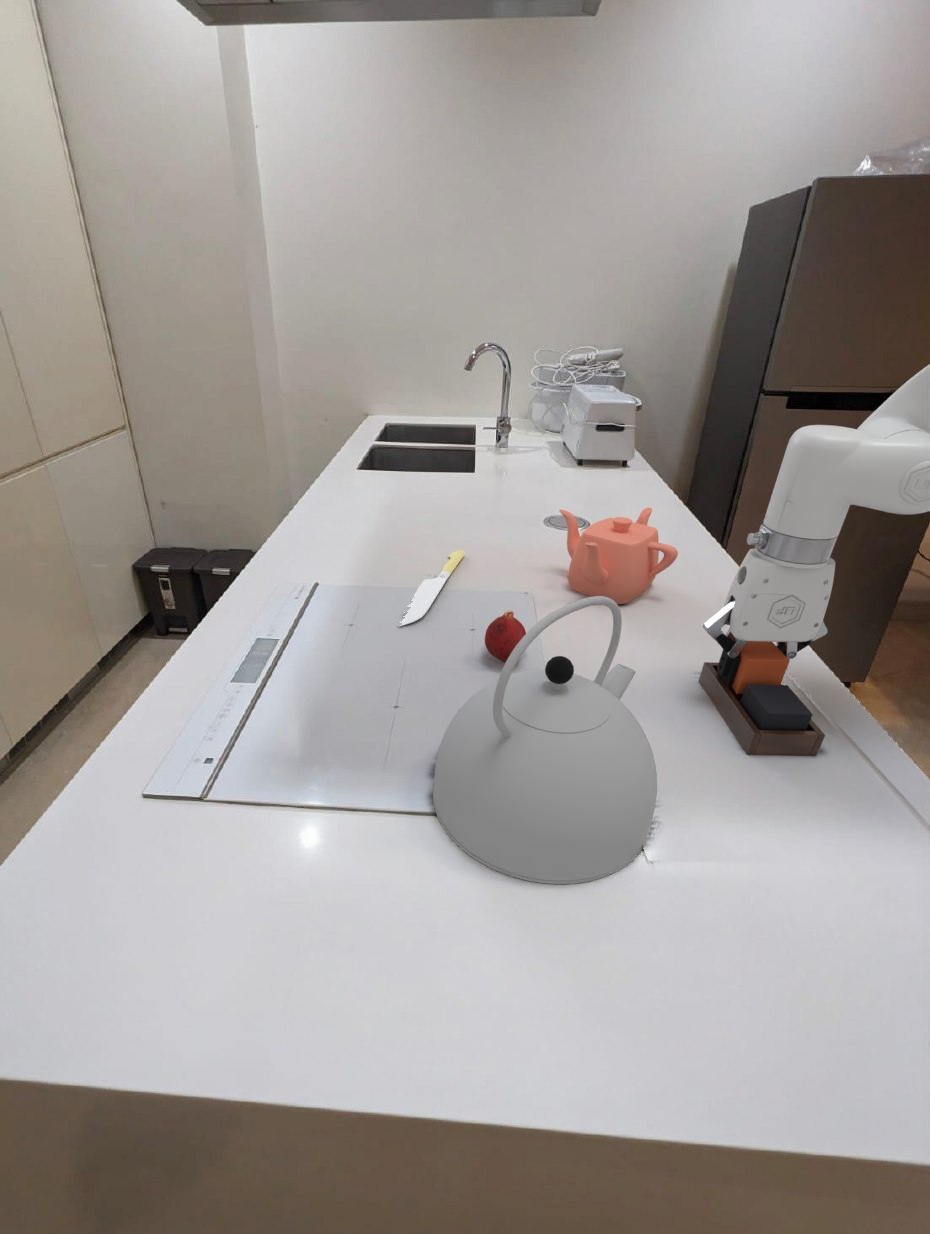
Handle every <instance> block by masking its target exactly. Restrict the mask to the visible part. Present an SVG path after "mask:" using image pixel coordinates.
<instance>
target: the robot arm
mask: <svg viewBox="0 0 930 1234" xmlns="http://www.w3.org/2000/svg"><path fill="white" fill-rule="evenodd" d="M850 506H858V507H863V508H867V509H872V510H876V511H881V512H884V513H889V514H896V515H919V514H925V513H928V512H930V363H929V364H928V365H926V366H925V367H924V368H922V369H921V370H920V371H919V372H917V373H916V374H915V375H913V376H912V377H910V378H909V379H908V380H907V381H906V382H905V383H904V384H902V385H901V386H900V387H899V388H897V389H896V390H895V392H893V393H892V394H891V395H890V396H889V397H887V399H886V400H884V401H883V403H881V405H879V406H878V407H877V409H875V410H874V411H873V412H872V413H871V414H870V415H869V416H868V417H867V418H866V419H864V420H863V422H862V423H861V424H860V425H859V426H858V427H857V428H853V427H852V428H851V427H848V426H847V427H846V426H840V425H830V424H809V425H806V426H802V427H800V428H798V429H797V430H795V431H794V432H793V433H792V435H791V436H790V438H789V440H788V443H787V446H786V448H785V452H784V455H783V458H782V461H781V464H780V468H779V470H778V474H777V477H776V481H775V482H774V487H773V489H772V493H771V496H770V499H769V501H768V506H767V509H766V513H765V515H764V518H763V521H762V524H760V526H759V530H758V531H757V532H750V533H748V534H747V537H746V544H747V545H748V546H753V547H754V548H750V549H749V550H748V551H747V553H746V554H745V557H744V558H743V559H742V562H741V564H740V565H739V567H738V569H737V572H736V573H735V576H734V578H733V581H732V582H731V585H730V588H729V590H728V593H727V594H726V595H727V596H726V598H725V601H724V604H723V607H722V608H721V609H719V611H717V612H716V613H715V614H714V615H713V616H711V617H710V618H709V619H707V621H705V622H704V623H703V625H702V628H703V629H704V631H705V632H706V634H708V635H709V636H710V637H711V638H712V639H713V640H715V642H717V644H718V646H720V647H721V648H722V651H721V654H720V658H719V661H718V663H719V664H718V667H717V672H718V674H719V675H720V677H721V678H722V680H723V681H724V682H725V684H726V685H732V684H733V682H734V679H735V676H736V673H737V670H738V667H739V664H740V661H741V659H740V658H739V656H738V655H739V653H740V652H741V650H742V649H743V647H744V646H745V644H746V643H747V641H761V642H773V643H776V644H775V645H776V646H777V647H778V649H779V650H780V651H781V652H782V653H783V654H784V655H785V656H786V657H787V658H788V659H789V660H793V659H795V658H796V657H797V655H798V652H800V651H802V650H804V649H806V648H807V647H808V646H810V645H811V643H812V642H815V641H817V640H818V639H820V638H823V637H824V636H826V635H827V634H828V633H829V630H828V628H827V625H826V624H825V622H824V619H825V614H826V612H827V608H828V605H829V603H830V602H829V600H830V598H831V594H832V589H833V586H834V585H833V584H834V581H835V580H834V579H835V572H836V561H835V559H834V558H832V553H833V551H834V549H835V545H836V542H837V540H838V539H839V535H840V532H841V531H842V527H843V525H844V522H845V520H846V517H847V514H848V511H849V509H850ZM726 625H727V626H729V628H728V630H727V631H726V633H725V632H724V631H723V630H722V628H723V627H724V626H726Z"/></svg>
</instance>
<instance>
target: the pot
mask: <svg viewBox="0 0 930 1234" xmlns="http://www.w3.org/2000/svg"><path fill="white" fill-rule="evenodd" d="M558 511H559V513H560V514H561V515H562V516H563V518H564V519H565V522H566V527H567V535H566V536H567V537H566V549H567V553H568V555H569V557H570V558H571V560H570V564H569V566H568V572H567V582H568V586H569V589H570V590H572V591H575V592H576V593H580V594H582V595H586V596H588V597H594V596H604V597H608V598H610V599H612V600H614V601H615V603H616V604H617V605H625V604H629V603H631V602H632V601H634V600H636V599H638V598H640V597H641V596H643V595H644V594H645V593H646V592H647V591H648V589H649V588H650V587H651V585H652V584H653V582H654V581H655V579H656V576H657V575H658V574H660V573H661V572H663V571H664V570H666V569H668V568H669V567H671V566H672V565H673V564H674V563H675V561H676V559H678V556H679V552H678V550H677V548H676V547H674V546H672V545H671V544H668V543H667V544H666V543H663V542H662V543H661V542H659V529H657V528H656V527H654V526H650V525H648V523H649V518H650V517H651V514H652V513H653V508H652V507H646V508H644V509H643V510H641V512H640V513H639V516H638V518H637V520H636V522H634V521H633V520H632V519H631V518H628V517H625V516H616V517H608V518H604V519H601V520H598V521H596V522H595V523H592V524H591V525H589V526H588V527H586V528H585V529H584V530H583V531H582V533H581V535H580V531H579V523H578V520H577V518H576V516H575V515H574V514H573V513H571V512H570V511H568V510H566V509H565V510H564V509H559V510H558ZM660 552H661V553H662V554H663V557H662V559H661V560H660V559H659V557H660ZM659 560H660V561H659Z"/></svg>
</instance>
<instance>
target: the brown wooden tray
mask: <svg viewBox="0 0 930 1234" xmlns="http://www.w3.org/2000/svg"><path fill="white" fill-rule="evenodd" d="M718 664H719V662H712V661H711V662H710V661H705V662H703V665H702V668H701V670H700V675H699V677H698V683H699V684H700V686H701V688H702V689H703V690H704V692H705V694H706V695H707V697H708V698H709V700H710V701H711V703H712V704H713V705H714V708H715V709H716V710H717V712H718V713H719V715H720V716H721V718H722V720H723V721H724V723H725V724H726V726H727V727H728V728H729V730H730V731H731V733H732V735H733V736H734V738H735V739H736V740H737V742H738V743H739V745H740V746H741V748H742V750H743V751H744V753H745V755H746V756H778V757H779V756H781V757H784V756H785V757H786V756H787V757H790V756H791V757H816V756H817V755H818V752H819V750H820V748H821V746H822V744H823V742H824V739H825V737H826V734H825V732H823V731H822V730H821V729H820V727H819V726H818V725H817V724H816V723H815V722H814V720H813V719H812V718H811V720H810V722H809V724H808V727H807V729H806V731H781V730H758V728H757V727H756V726H755V724H754V723H753V721H752V720H751V719H750V717H749V716H748V715H747V713H746V712H745V710H744V709H743V708H742V706H741V705H740V702H741V699H742V696H743V694H737V693H736V692H735V691H734V689H733V688H732V687H731V685H726V684H725V682H724V681H723V680H722V678H721V677H720V675H719V674H718V672H717V667H718ZM781 685H783V684H782V683H781Z"/></svg>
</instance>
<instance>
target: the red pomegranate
mask: <svg viewBox="0 0 930 1234" xmlns="http://www.w3.org/2000/svg"><path fill="white" fill-rule="evenodd" d="M514 615H515V612H514V611H513V610H511V609H509V610H506V611H505V612H504V613H503V614H502V615H501V616H498V617H496V618H495V619H494V620H493V621H492V622H490V623H489V624H488V626H487V627H486V630H485V634H484V646H485V649H486V650H487V652H488V653H489V655H491V656H492V657H493V658H495V659H497V660H499V661H500V662H502V663H506V661H507V659H508V658H509V656H510V654H511V653H512V651H513V650H514V648H515V647H516V645H517V644H518V643H519V642H520V640H521V639H522V638H523V637H524V636H525V634H526V633H527V631H526V629H525V627H524V625H523V623H522V622H521V621H520V620H519V619H517V618H516V617H514Z"/></svg>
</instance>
